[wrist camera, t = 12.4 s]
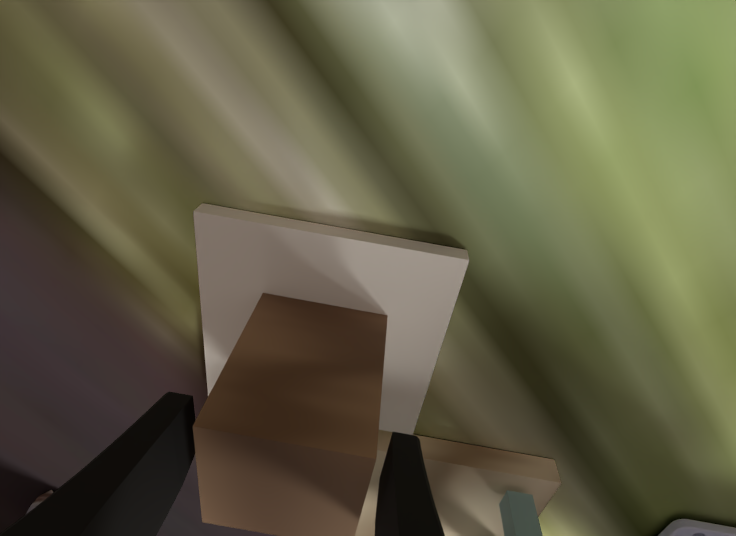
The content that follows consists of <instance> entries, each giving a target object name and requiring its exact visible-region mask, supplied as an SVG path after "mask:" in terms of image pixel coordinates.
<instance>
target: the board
mask: <svg viewBox="0 0 736 536" xmlns="http://www.w3.org/2000/svg"><path fill="white" fill-rule="evenodd" d="M413 435H414V434H413ZM391 436H392V432H389V431H384V430H379V432H378V445H377V458H376V462H375V466H374V469H373V473H372V476H371V480H370V484H369V487H368V491H367V494H366V498H365V501H364V505H363V508H362V512H361V516H360V519H359V523H358V526H357V530H356V533H355V536H375V517H376V507H377V497H378V488H379V479H380V475H381V471H382V468H383V464H384V461H385V457H386V453H387V450H388V446H389V443H390V439H391ZM415 436H417V437H418V438H419V439H420V444H421V450H422V455H423V460H424V464H425V468H426V473H427V477H428V481H429V484H430V488H431V492H432V495H433V499H434V502H435V506H436V509H437V512H438V515H439V518H440V522H441V525H442V528H443V531H444V534H445V536H504V530H503V524H502V518H501V513H500V507H499V503H500V502H501V500H502V498H503V496H504V495H505V493H506V491H507V490H508V491H514V492H520V493H525V494H531V495H533V499H534V503H535V507H536V511H537V515H538V517H539V515H540V514H541V512H542V511H543V509H544V508H545V507H546V505H547V504H548V502H549V501H550V499H551V498H552V496H553V495H554V494H555V492H556V491H557V489H558V488H559V486H560V485H561V483H562V482H561V479H560V476H559V473H558V469H557V466H556V463H555V460H554V459H548V458H543V457H537V456H531V455H526V454H520V453H515V452H509V451H503V450H498V449H492V448H487V447H481V446H475V445H470V444H464V443H458V442H453V441H447V440H442V439H436V438H430V437H425V436H419V435H415Z"/></svg>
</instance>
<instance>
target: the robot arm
mask: <svg viewBox="0 0 736 536" xmlns="http://www.w3.org/2000/svg"><path fill="white" fill-rule="evenodd" d="M194 423H195V413H194V404H193V396H190V395H185V394H179V393H173V392H168V393H166V394H165V395H164V396H163V397H161V398H160V399H159V400H158V401H157V402H156V403H155V404H154V405H153V406H152V407H151V408H150V409H149V410H148V411H147V412H146V413H145V414H144V415H142V416H141V417H140V418H139V419H138V420H137V421H136V422H135V423H134V424H133V425H132V426H131V427H129V428H128V429H127V430H126V431H125V432H124V433H123V434H122V435H121V436H120V437H119V438H117V439H116V440H115V441H114V442H113V443H112V444H111V445H109V446H108V447H107V448H106V449H105V450H104V451H103V452H101V453H100V454H99V455H98V456H97V457H96V458H95V459H93V460H92V461H91V462H90V463H89V464H88V465H87V466H85V467H84V468H83V469H82V470H81V471H79V472H78V473H77V474H76V475H75V476H73V477H72V478H71V479H70V480H68V481H67V482H66V483H65V484H64V485H62V486H61V487H60V488H59V489H57V490H56V491H55V492H54V493H52V494H51V495H50V496H49V497H47V498H46V499H45V500H44V501H43V502H41V503H40V504H39V505H37V506H36V507H35V508H34V509H32V510H31V511H30V512H28V513H27V514H26V515H24V516H23V517H22V518H21V519H19V520H18V521H17V522H15V523H14V524H12V525H11V526H10V527H8V528H7V529H6V530H4V531H3V532H2V533H0V536H156V535H157V533H158V531H159V529H160V527H161V525H162V524H163V522H164V520H165V518H166V516H167V514H168V512H169V510H170V508H171V506H172V504H173V503H174V501H175V499H176V497H177V495H178V493H179V491H180V489H181V487H182V485H183V482H184V480H185V477H186V475H187V473H188V470H189V468H190V465H191V463H192V460H193V458H194V455H195V444H194V434H193V425H194ZM375 536H445V534H444V531H443V528H442V525H441V522H440V518H439V515H438V512H437V509H436V506H435V502H434V499H433V495H432V492H431V488H430V484H429V481H428V477H427V473H426V468H425V464H424V460H423V455H422V450H421V444H420V439H419V438H418V437H417V436H415V435H409V434H404V433H398V432H392V436H391V439H390V443H389V446H388V450H387V453H386V457H385V461H384V464H383V468H382V471H381V475H380V479H379V488H378V497H377V507H376V517H375ZM658 536H736V528H735V527H729V526H724V525H718V524H713V523H707V522H701V521H696V520H690V519H678V520H675V521H673V522H671V523H670V524H669V525H668V526H667V527H666V528H665V529H664V530H663V531H662V532H661V533H660V534H659V535H658Z"/></svg>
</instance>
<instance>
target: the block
mask: <svg viewBox="0 0 736 536" xmlns="http://www.w3.org/2000/svg"><path fill="white" fill-rule="evenodd" d="M387 317H388V315H383V314H377V313H372V312H366V311H361V310H355V309H350V308H344V307H339V306H333V305H328V304H322V303H317V302H311V301H306V300H300V299H295V298H289V297H284V296H278V295H273V294H267V293H262V295H261V297H260V299H259V301H258V303H257V305H256V307H255V309H254V311H253V312H252V314H251V316H250V318H249V320H248V322H247V324H246V326H245V328H244V330H243V331H242V333H241V335H240V337H239V339H238V341H237V343H236V345H235V347H234V349H233V350H232V352H231V354H230V356H229V358H228V360H227V362H226V364H225V366H224V368H223V369H222V371H221V373H220V375H219V377H218V379H217V381H216V383H215V385H214V387H213V388H212V390H211V392H210V394H209V396H208V398H207V400H206V402H205V404H204V406H203V407H202V409H201V411H200V413H199V415H198V417H197V419H196V421H195V423H194V425H193V434H194V444H195V454H196V464H197V474H198V484H199V493H200V503H201V513H202V522H204V523H210V524H216V525H221V526H227V527H233V528H238V529H244V530H250V531H255V532H261V533H267V534H272V535H278V536H355V533H356V530H357V526H358V523H359V519H360V516H361V512H362V508H363V505H364V501H365V498H366V494H367V491H368V487H369V484H370V480H371V476H372V473H373V469H374V466H375V462H376V458H377V445H378V432H379V420H380V407H381V394H382V381H383V368H384V356H385V343H386V330H387Z"/></svg>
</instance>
